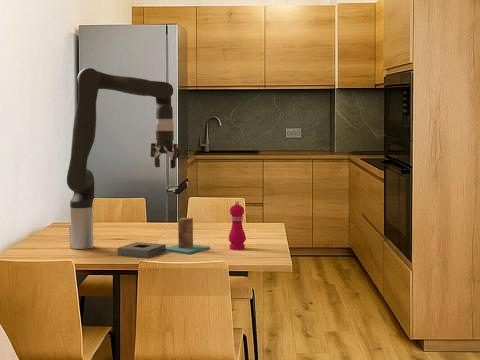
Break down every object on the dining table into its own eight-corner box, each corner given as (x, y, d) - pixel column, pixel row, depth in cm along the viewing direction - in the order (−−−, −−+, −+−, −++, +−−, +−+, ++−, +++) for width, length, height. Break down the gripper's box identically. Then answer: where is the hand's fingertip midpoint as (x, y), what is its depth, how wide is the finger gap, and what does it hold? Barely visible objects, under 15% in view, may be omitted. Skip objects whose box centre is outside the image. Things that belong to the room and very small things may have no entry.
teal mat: (162, 250, 316) (162, 248, 316) (183, 245, 328) (183, 243, 328) (188, 254, 308) (188, 251, 308) (209, 248, 320) (209, 246, 320)
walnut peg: (178, 247, 317) (178, 219, 316) (183, 246, 321) (183, 217, 320) (187, 248, 315) (187, 219, 314) (193, 246, 319) (192, 218, 318)
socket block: (117, 255, 307) (117, 247, 307) (136, 249, 320) (136, 242, 320) (147, 258, 301) (147, 250, 301) (165, 251, 314) (165, 244, 314)
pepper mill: (237, 250, 315) (237, 202, 313) (224, 248, 320) (224, 201, 318) (249, 248, 320) (249, 200, 319) (236, 246, 325) (236, 199, 323)
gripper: (146, 129, 327) (146, 167, 328) (171, 130, 319) (172, 169, 320) (157, 129, 333) (158, 166, 334) (183, 129, 325) (183, 167, 326)
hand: (165, 167), depth 327 cm, fingers open, 8 cm apart
